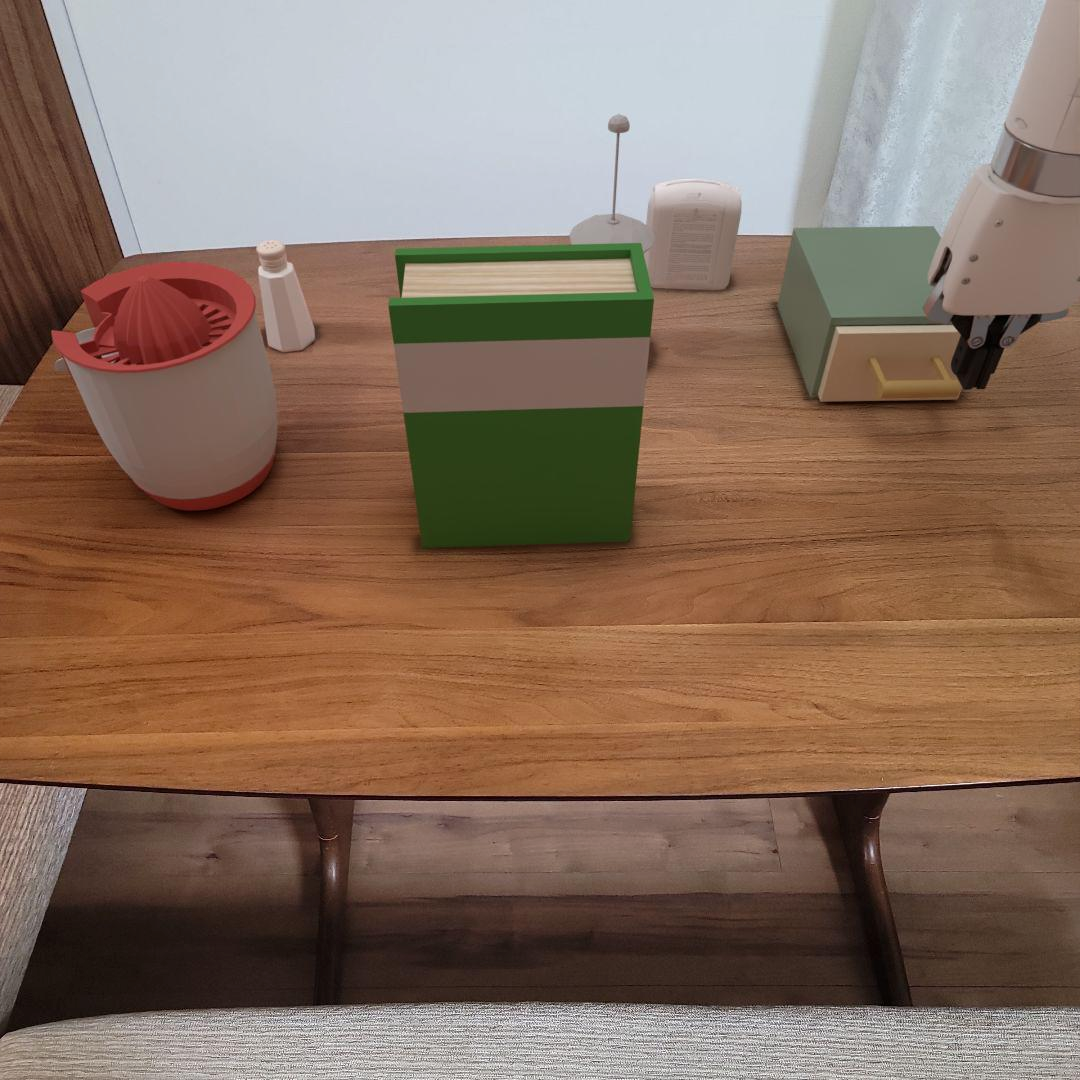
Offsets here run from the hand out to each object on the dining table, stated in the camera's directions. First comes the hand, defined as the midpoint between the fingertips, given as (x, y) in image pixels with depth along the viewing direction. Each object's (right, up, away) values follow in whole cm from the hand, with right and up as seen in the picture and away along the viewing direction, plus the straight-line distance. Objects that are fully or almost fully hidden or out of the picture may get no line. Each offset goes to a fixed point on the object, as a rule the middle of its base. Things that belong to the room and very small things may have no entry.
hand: (968, 378), depth 76 cm
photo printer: (-18, +17, +32) cm, 41 cm away
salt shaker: (-62, +9, +25) cm, 67 cm away
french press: (-28, +5, +22) cm, 36 cm away
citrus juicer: (-66, -7, +10) cm, 68 cm away
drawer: (-1, +4, +19) cm, 19 cm away
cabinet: (-1, +7, +23) cm, 24 cm away
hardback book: (-36, -11, +6) cm, 38 cm away
